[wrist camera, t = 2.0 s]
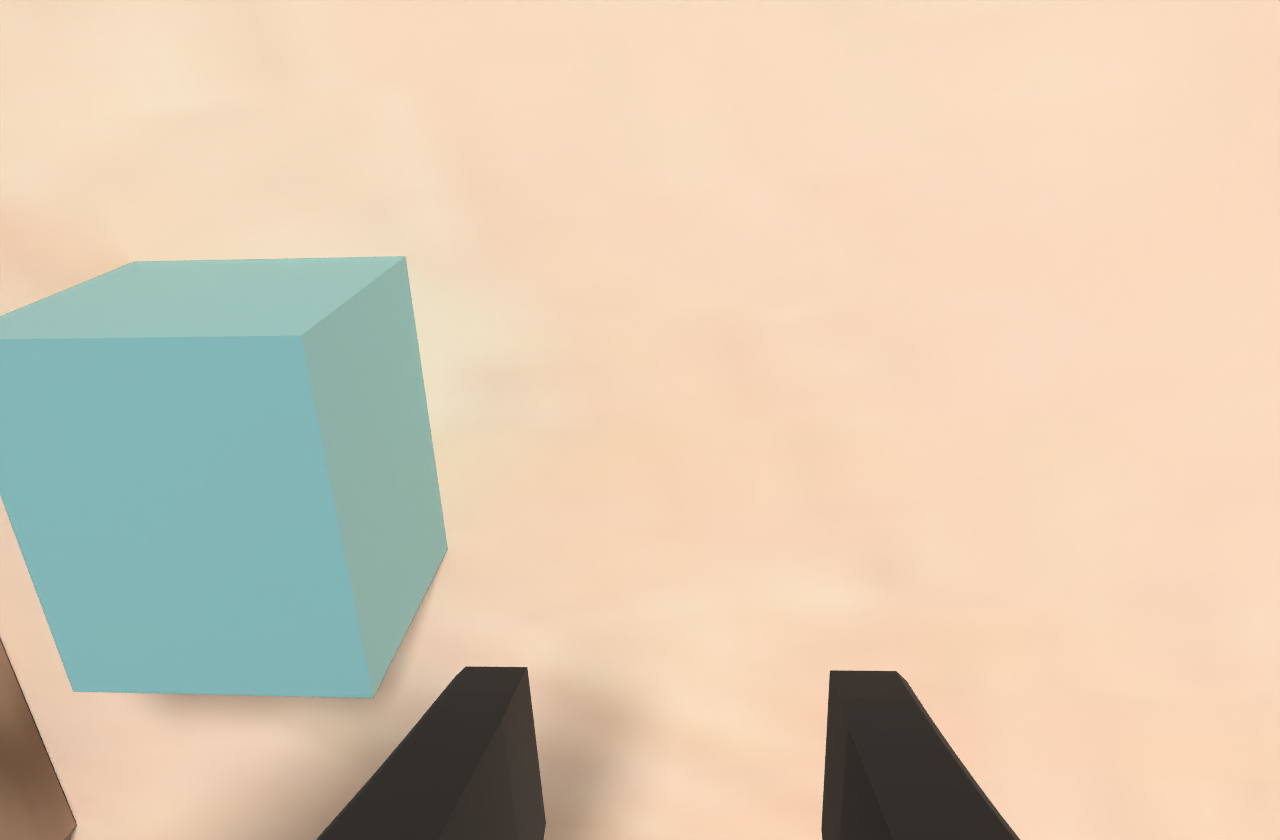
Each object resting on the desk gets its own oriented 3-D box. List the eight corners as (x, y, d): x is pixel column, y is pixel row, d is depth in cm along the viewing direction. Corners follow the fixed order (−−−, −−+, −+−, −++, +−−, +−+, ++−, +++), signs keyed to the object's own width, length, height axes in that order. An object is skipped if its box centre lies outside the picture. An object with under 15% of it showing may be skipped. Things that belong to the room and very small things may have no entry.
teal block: (449, 545, 18) (373, 697, 14) (214, 544, 18) (73, 691, 14) (407, 254, 16) (301, 335, 12) (138, 260, 16) (-58, 339, 12)
